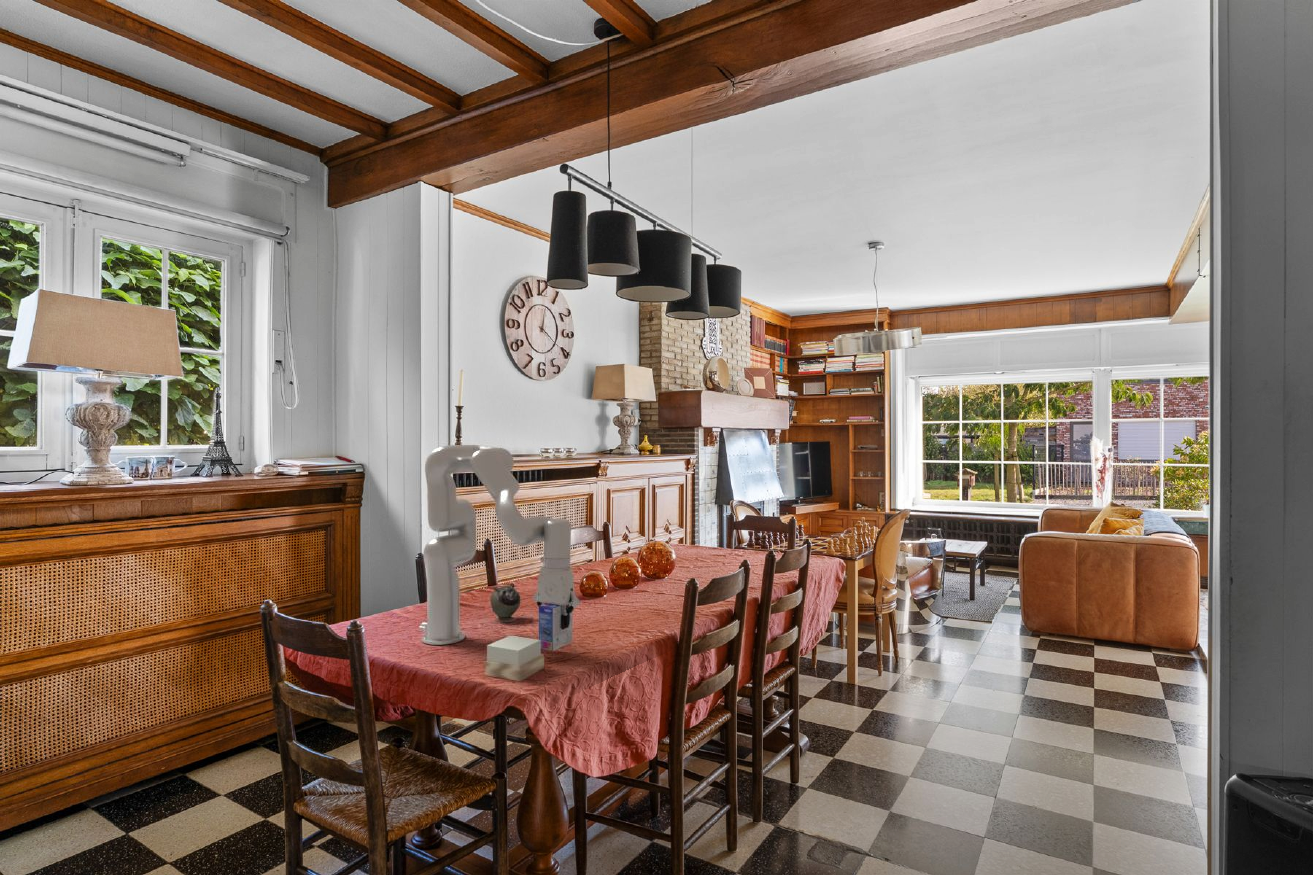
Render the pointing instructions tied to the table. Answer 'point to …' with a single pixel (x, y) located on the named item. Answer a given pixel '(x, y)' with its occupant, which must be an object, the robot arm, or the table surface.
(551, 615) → the ink cartridge box
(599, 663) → the table surface
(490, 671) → the tower bottom block
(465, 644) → the table surface
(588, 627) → the table surface
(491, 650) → the tower top block
